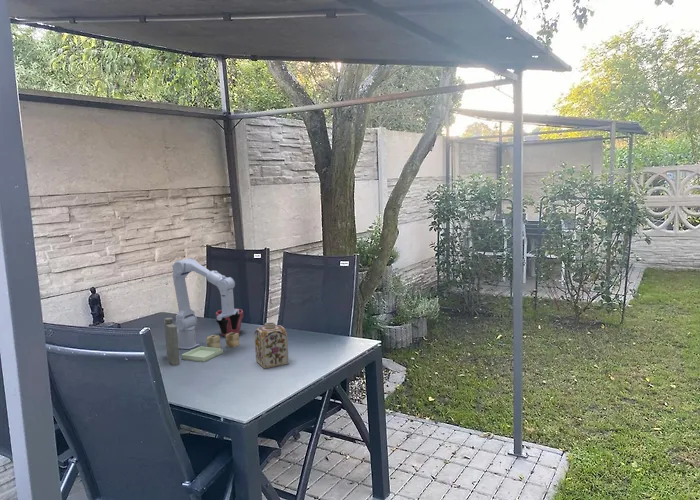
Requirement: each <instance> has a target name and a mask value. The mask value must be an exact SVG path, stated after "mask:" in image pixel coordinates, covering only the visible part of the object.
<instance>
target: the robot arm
mask: <svg viewBox="0 0 700 500" xmlns="http://www.w3.org/2000/svg"><path fill="white" fill-rule="evenodd" d="M172 272H173V273H172V280H173V284H174V285H173V286H174V289H175V290H174V291H175V294H176V295H175V296H176V302H177V307H178V312H177V314H176V315H175V323H174V325H176V326H177V336H178V348H179V349H182V350H184V349H185V350H192V349H195V348H197V347H199V346H201V345H200V343H197V342H196V339H197V338H196V332H195V331H196V330H195V329H196V326H197V324H198V318H197V316H196V313H195V311H194V310H192V309H191V305H190V299H189V293H188V287H187V281H186V278H187V276H188V275H189V274H190V273H191V272H194V273H197V274H199V275H200V276H203V277H205V278H206V281H207V282H208V283H211V284H212V285H214V286H216V288H217V289H218V290H219V294H220V300H221V301H220V302H221V303H220V304H221V310H222V313H221V314H220V315H218V316H217V319H216V318H215V320H216V323H217V324H218V326H219V329H220V328H221V330H220V332H221V331H222V333H221V335H222V334H227V323H228V320H225V318H226V317H229V318H230V321H231V327H232V329H235V330H236V328H237V323H238V320H239V317H240V314H238V313H239V309H240V308H235V301H234V288H235V286H236V281H235V280H234V279H233V277H231V276H229V277H226V275H223V274H221V273H220V272H219V271H217V270H209V269H208V268H206V267H204V266H203V265H202V264H200V263H198V260H196V259H194V258H192V257H188V258H186V259H181V260H176V261H174V263H173V264H172Z"/></svg>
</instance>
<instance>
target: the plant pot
mask: <svg viewBox="0 0 700 500" xmlns="http://www.w3.org/2000/svg"><path fill="white" fill-rule="evenodd" d="M238 309H239V313H238V314H240V317H239V320H238V323H237V328H236V330H235V329H232V327H231V321H230V318H229V317H226V318H225V320H228V323H227V334H229V333H231V332H232V333H239V334H240V333H241V326H242V319H243V318H244V311H243V309H240V308H238ZM221 313H222V309H219V310H217V311H216V312H215V320H216V319H217V316H218V315H220V314H221ZM219 330H220V332H221V335H222V337H223V338H226V335H227V334H222V331H221V328H220V327H219Z"/></svg>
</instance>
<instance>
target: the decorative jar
mask: <svg viewBox="0 0 700 500" xmlns="http://www.w3.org/2000/svg"><path fill="white" fill-rule="evenodd" d="M253 335H254V347H255V348H254V349H255V351H254V352H255V361H256V363H257V364H259V365H260V366H261V367H262V368H263V369H270V368H274V367H275V368H276V367H278V366H279V367H281V366H283V365H285V366H286V365H288V364H289V346H288V345H289V343H288V342H289V341H288V340H289V339H288V333H287V331H286V329H285V327H284V326H283V325H279V324H276V322H265V323H264V325H262V326H259V327H258V328H256V330H255V331H254V333H253Z"/></svg>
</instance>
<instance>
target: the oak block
mask: <svg viewBox="0 0 700 500" xmlns="http://www.w3.org/2000/svg"><path fill="white" fill-rule="evenodd" d="M225 345H226V348H236V347H238V346H240V333H232V332H231V333H229V334H227V335H226V337H225Z"/></svg>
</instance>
